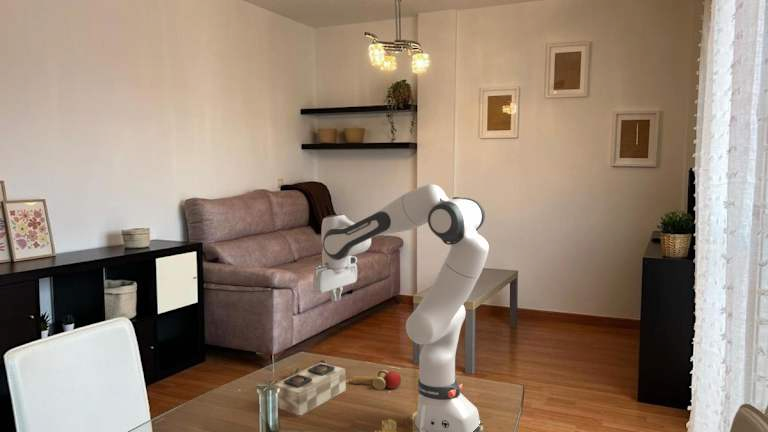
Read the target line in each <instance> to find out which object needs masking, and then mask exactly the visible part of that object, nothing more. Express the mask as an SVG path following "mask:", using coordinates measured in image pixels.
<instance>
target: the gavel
mask: <svg viewBox="0 0 768 432" xmlns="http://www.w3.org/2000/svg"><path fill="white" fill-rule="evenodd" d="M320 362H321V363H325V364H327V360H325V359H322V360H320V361H318V362H316V363H315V364H317V363H320ZM303 370H304V369H300V368H297V367H292V368H291V370H290V372H289V377H290V376H292V375H294V374H296V373H298V372H300V371H303Z"/></svg>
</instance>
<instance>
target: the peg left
mask: <svg viewBox="0 0 768 432" xmlns="http://www.w3.org/2000/svg"><path fill="white" fill-rule="evenodd" d="M302 381H304V378H301V377H298V378H294V379H292V382H295V383H300V382H302Z"/></svg>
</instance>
